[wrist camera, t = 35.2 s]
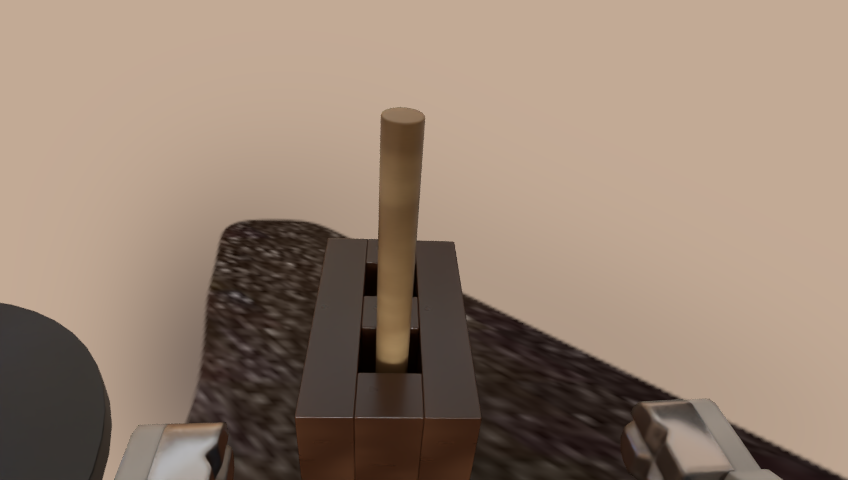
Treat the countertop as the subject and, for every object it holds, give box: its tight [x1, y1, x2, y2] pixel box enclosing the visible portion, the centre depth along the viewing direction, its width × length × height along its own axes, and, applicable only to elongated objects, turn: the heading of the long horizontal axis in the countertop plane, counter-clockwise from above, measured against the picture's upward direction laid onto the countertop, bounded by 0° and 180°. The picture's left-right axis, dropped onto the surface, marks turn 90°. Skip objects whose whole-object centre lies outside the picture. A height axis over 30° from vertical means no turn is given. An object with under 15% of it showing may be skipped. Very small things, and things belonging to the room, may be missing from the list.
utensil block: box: [295, 238, 482, 480], centre depth 31 cm, size 8×14×8 cm, turn 2°
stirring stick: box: [375, 107, 425, 373], centre depth 25 cm, size 2×2×20 cm
